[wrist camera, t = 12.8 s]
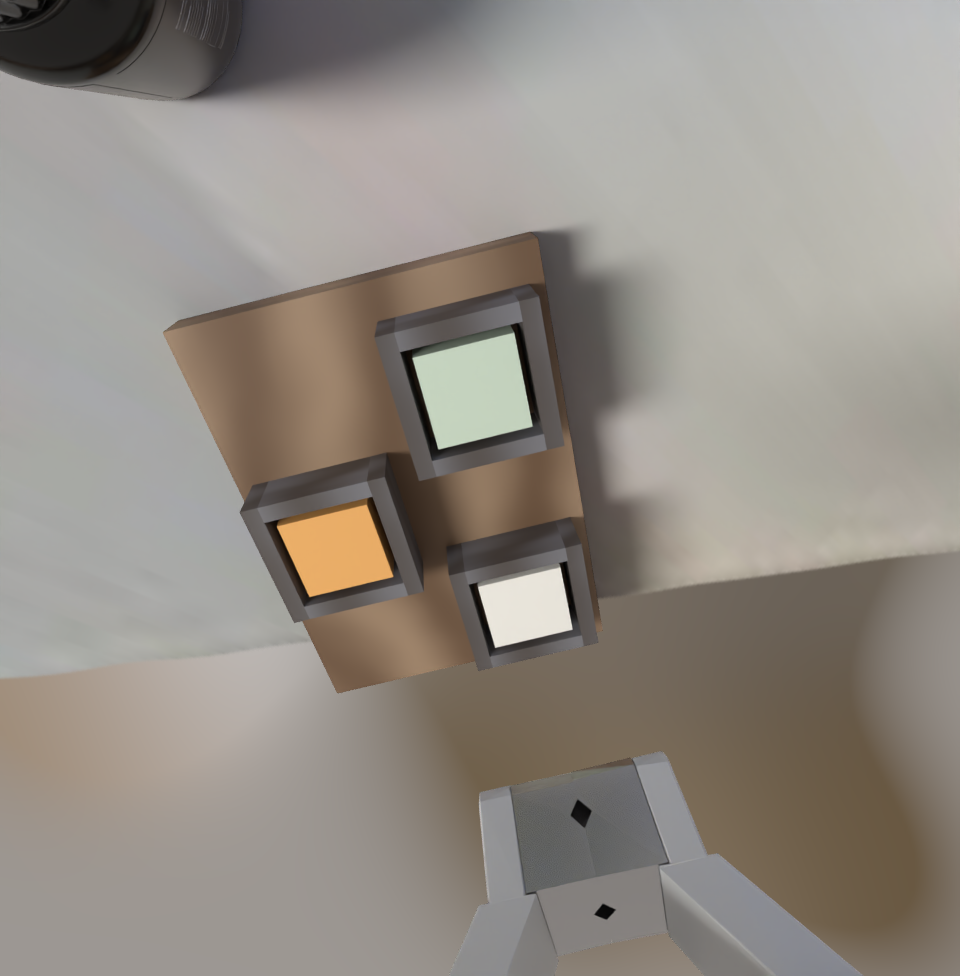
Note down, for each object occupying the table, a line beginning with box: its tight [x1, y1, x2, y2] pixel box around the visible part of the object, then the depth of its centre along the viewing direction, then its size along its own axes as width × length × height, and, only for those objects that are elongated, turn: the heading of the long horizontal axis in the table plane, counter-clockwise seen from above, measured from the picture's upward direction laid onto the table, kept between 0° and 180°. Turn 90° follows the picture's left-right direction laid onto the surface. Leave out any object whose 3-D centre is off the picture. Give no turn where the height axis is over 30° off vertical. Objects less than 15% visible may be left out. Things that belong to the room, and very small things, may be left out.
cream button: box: [477, 563, 573, 648], centre depth 33 cm, size 4×4×2 cm
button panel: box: [163, 232, 603, 693], centre depth 31 cm, size 16×22×4 cm
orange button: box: [277, 497, 394, 597], centre depth 30 cm, size 4×4×2 cm
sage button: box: [412, 325, 533, 449], centre depth 27 cm, size 4×4×2 cm
